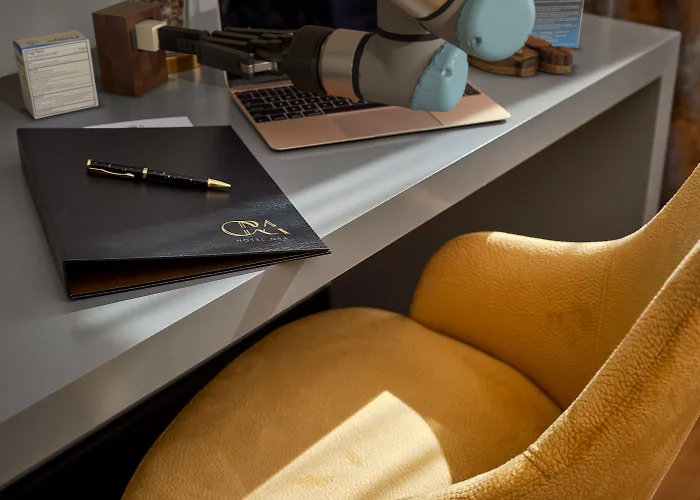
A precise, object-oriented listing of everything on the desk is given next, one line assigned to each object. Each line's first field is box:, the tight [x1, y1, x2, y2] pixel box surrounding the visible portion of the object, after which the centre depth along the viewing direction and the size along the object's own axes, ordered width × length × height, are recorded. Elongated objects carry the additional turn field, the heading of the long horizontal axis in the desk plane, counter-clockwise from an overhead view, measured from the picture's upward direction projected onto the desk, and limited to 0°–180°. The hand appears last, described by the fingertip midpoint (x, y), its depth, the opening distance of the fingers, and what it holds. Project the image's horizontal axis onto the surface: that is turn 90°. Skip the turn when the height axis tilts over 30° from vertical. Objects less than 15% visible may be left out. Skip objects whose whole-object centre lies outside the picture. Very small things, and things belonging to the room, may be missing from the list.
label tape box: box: [530, 0, 585, 49], centre depth 129 cm, size 9×4×12 cm, turn 94°
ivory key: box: [135, 19, 168, 51], centre depth 114 cm, size 3×3×3 cm
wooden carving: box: [467, 35, 574, 77], centre depth 124 cm, size 16×5×10 cm
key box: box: [91, 0, 169, 97], centre depth 116 cm, size 5×7×10 cm
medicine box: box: [12, 29, 99, 120], centre depth 109 cm, size 8×4×9 cm, turn 122°
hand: (163, 37), depth 113 cm, fingers closed
